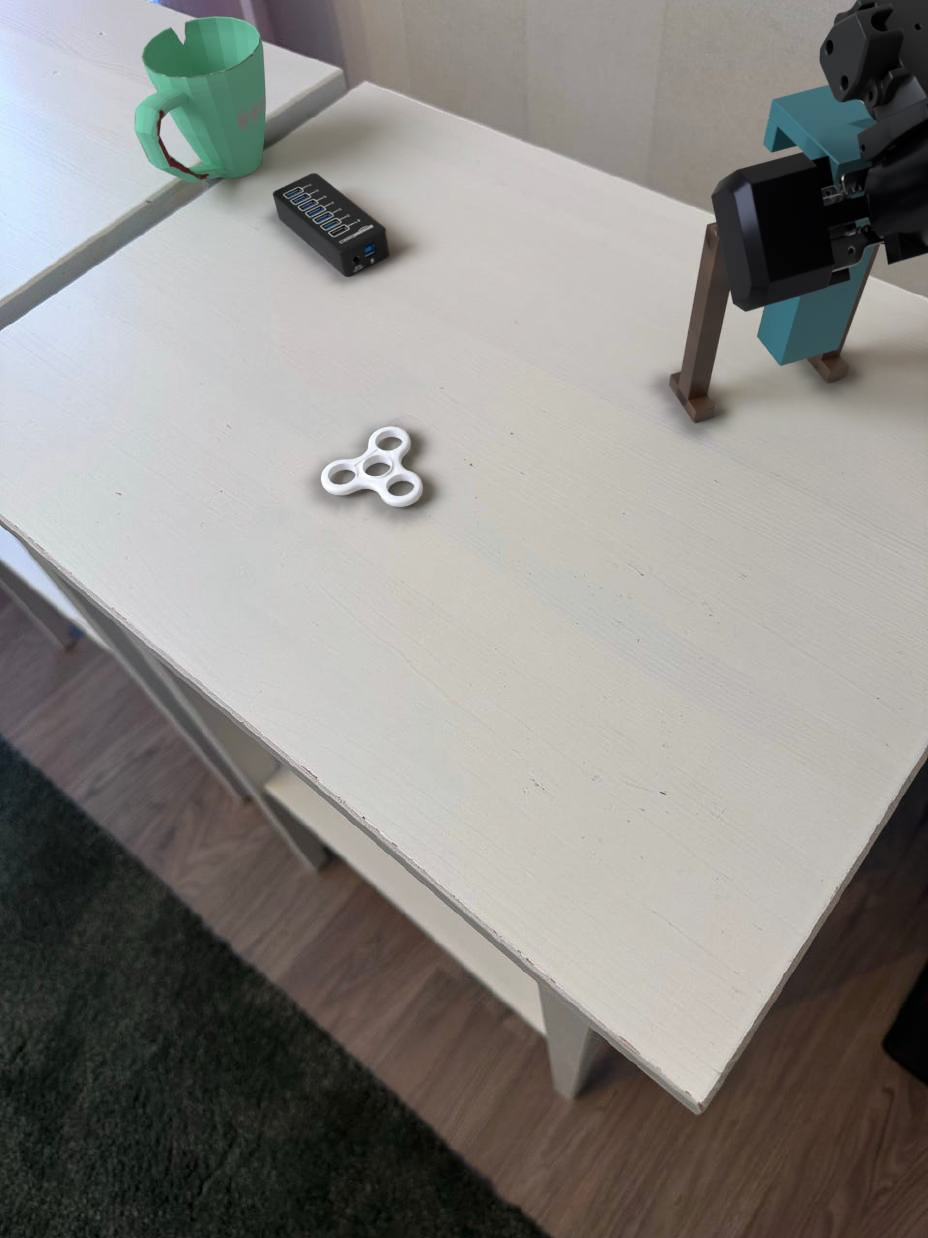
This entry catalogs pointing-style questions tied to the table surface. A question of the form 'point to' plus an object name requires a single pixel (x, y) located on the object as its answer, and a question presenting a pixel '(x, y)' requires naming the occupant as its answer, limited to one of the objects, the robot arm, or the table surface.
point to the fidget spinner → (377, 482)
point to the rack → (707, 330)
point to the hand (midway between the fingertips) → (812, 236)
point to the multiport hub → (331, 224)
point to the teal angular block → (833, 132)
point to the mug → (206, 97)
